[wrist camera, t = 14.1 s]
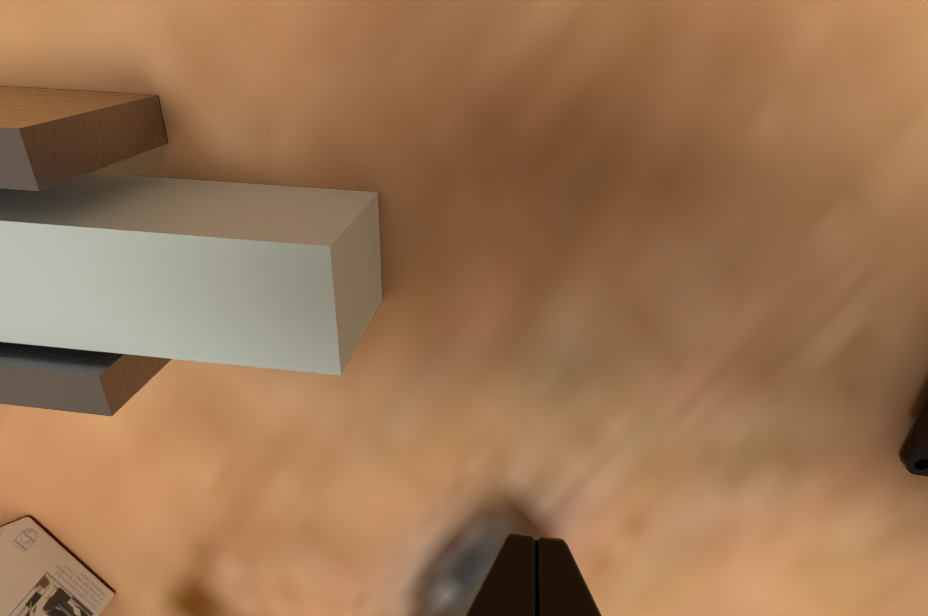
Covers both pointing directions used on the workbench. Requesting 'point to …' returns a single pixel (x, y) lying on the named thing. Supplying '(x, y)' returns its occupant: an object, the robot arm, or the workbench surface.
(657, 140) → the workbench surface
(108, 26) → the workbench surface
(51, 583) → the light bulb box
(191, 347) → the grey rectangular block
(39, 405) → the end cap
